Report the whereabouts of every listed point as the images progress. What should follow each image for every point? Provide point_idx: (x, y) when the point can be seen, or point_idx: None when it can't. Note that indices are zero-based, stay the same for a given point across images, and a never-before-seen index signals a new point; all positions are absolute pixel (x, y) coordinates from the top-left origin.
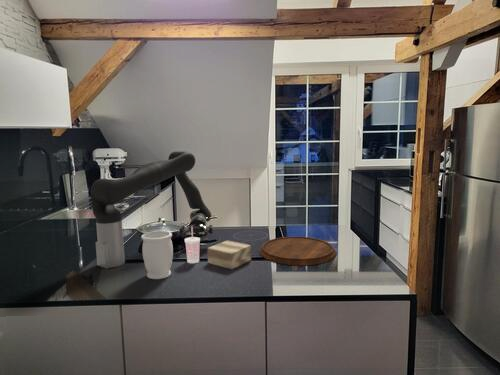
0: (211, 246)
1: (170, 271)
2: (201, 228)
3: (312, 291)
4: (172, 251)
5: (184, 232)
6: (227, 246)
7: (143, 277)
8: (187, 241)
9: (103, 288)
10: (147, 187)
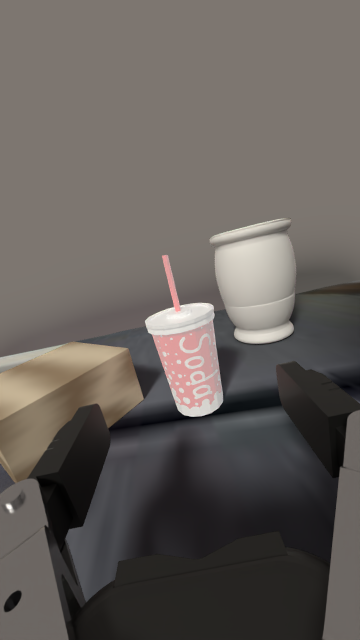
0: (110, 357)
1: (236, 334)
2: (78, 615)
3: (13, 357)
4: (217, 283)
5: (287, 363)
6: (50, 368)
7: (292, 322)
8: (194, 303)
9: (332, 296)
10: None
